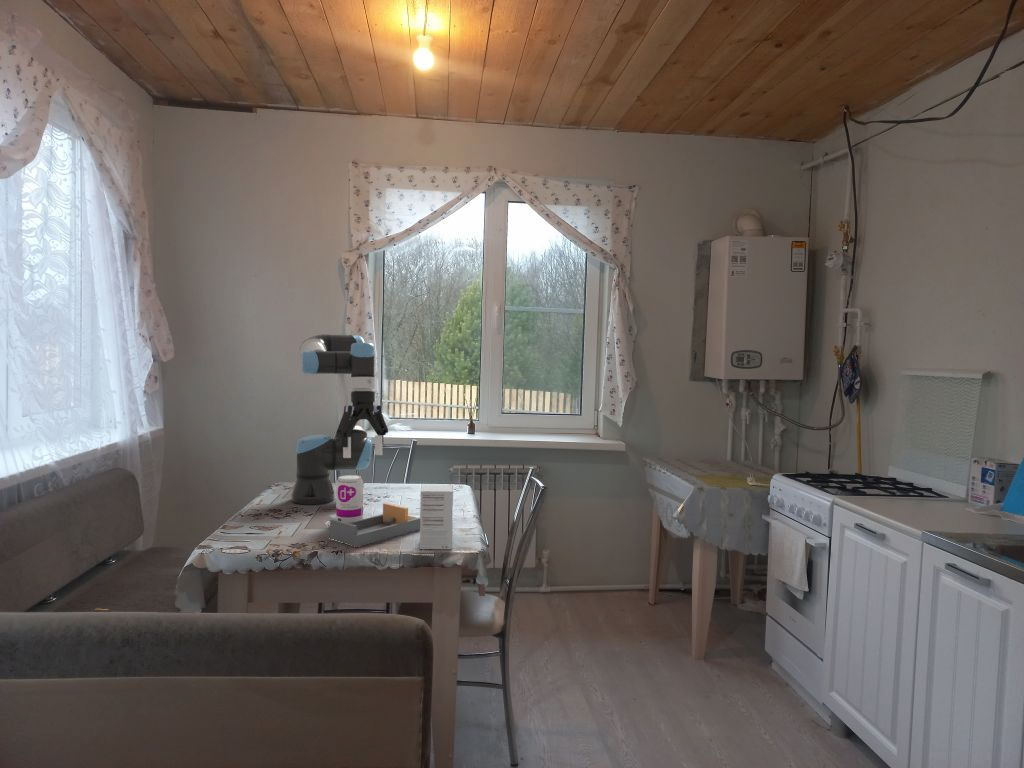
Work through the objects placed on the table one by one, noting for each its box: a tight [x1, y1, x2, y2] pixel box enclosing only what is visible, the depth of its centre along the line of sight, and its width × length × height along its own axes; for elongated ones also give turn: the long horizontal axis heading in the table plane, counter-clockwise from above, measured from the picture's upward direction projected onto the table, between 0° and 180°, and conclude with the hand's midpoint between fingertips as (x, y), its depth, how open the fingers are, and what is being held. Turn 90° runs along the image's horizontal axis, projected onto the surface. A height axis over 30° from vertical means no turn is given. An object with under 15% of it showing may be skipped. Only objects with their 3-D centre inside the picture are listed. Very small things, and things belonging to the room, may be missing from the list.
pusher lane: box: [327, 513, 420, 548], centre depth 206 cm, size 12×26×6 cm, turn 143°
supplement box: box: [419, 483, 454, 550], centre depth 196 cm, size 10×9×17 cm
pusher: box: [382, 502, 409, 525], centre depth 210 cm, size 10×4×6 cm, turn 53°
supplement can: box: [335, 474, 364, 523], centre depth 216 cm, size 8×8×15 cm
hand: (363, 456), depth 220 cm, fingers open, 13 cm apart
